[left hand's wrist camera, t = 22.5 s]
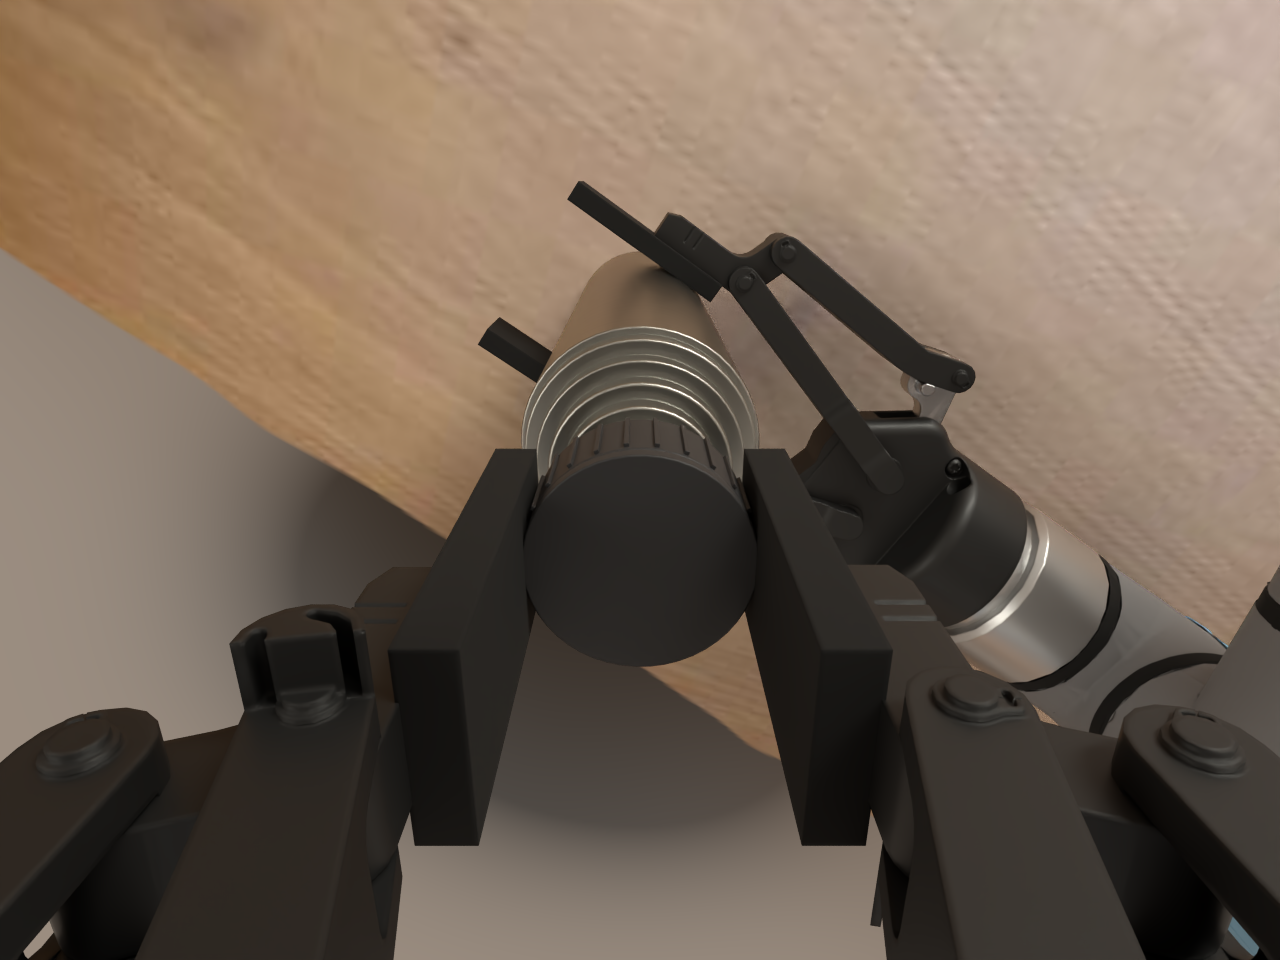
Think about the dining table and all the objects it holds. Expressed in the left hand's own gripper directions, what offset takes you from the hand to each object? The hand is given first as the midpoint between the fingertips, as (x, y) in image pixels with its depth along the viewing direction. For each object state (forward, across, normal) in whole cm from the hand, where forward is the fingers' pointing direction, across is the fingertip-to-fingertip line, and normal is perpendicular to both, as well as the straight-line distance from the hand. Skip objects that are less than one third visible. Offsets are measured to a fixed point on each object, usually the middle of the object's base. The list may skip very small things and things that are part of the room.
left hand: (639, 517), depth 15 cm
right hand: (+18, -4, +3) cm, 19 cm away
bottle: (+24, 0, 0) cm, 24 cm away
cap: (-2, 0, 0) cm, 2 cm away
